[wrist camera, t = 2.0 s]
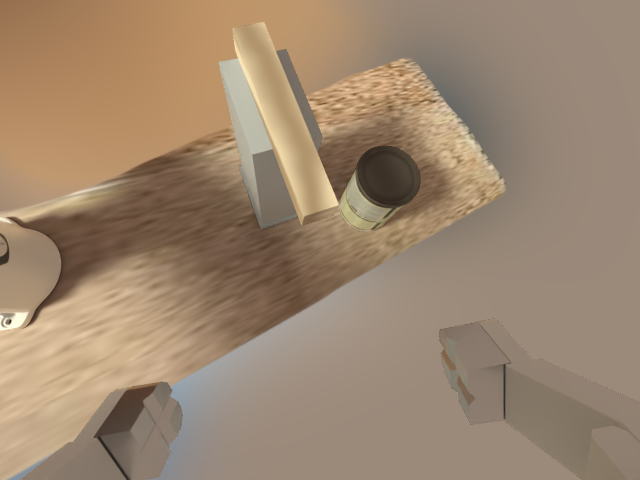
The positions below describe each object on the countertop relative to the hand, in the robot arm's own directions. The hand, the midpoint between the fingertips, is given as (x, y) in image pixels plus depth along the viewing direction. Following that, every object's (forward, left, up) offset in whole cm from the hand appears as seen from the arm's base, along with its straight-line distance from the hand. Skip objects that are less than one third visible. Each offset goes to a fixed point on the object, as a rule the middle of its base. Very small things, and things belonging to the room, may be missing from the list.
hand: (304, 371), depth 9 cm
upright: (+7, +25, -46) cm, 53 cm away
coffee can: (+23, +16, -46) cm, 54 cm away
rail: (+7, +21, -20) cm, 30 cm away
